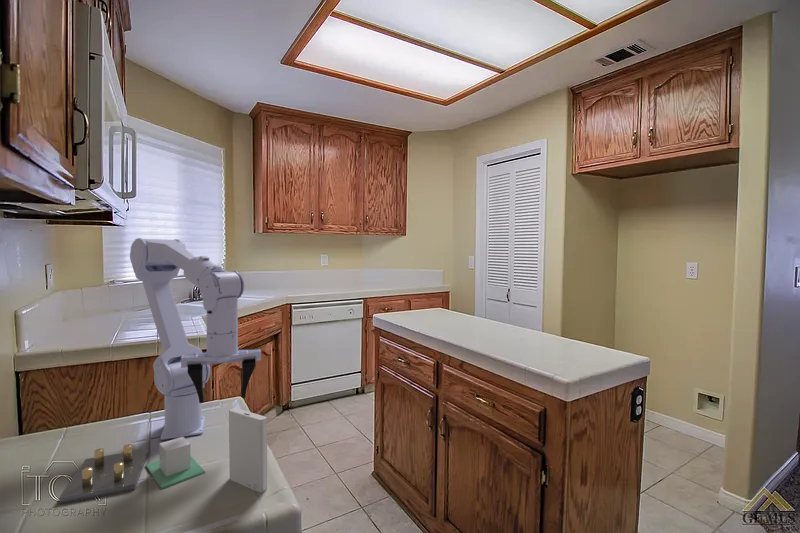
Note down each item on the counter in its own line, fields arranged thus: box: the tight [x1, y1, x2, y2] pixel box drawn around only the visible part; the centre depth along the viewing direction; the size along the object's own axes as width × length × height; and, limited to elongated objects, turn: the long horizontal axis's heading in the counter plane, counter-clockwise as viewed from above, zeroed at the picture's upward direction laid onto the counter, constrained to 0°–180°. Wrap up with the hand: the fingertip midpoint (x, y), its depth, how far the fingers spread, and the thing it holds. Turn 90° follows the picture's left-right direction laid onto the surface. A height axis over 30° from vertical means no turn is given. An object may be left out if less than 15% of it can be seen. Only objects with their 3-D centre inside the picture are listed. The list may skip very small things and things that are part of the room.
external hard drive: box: [228, 407, 268, 493], centre depth 70 cm, size 2×8×12 cm, turn 60°
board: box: [145, 437, 206, 490], centre depth 74 cm, size 10×7×5 cm
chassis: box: [59, 443, 149, 505], centre depth 72 cm, size 13×10×4 cm
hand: (222, 398), depth 82 cm, fingers open, 7 cm apart
